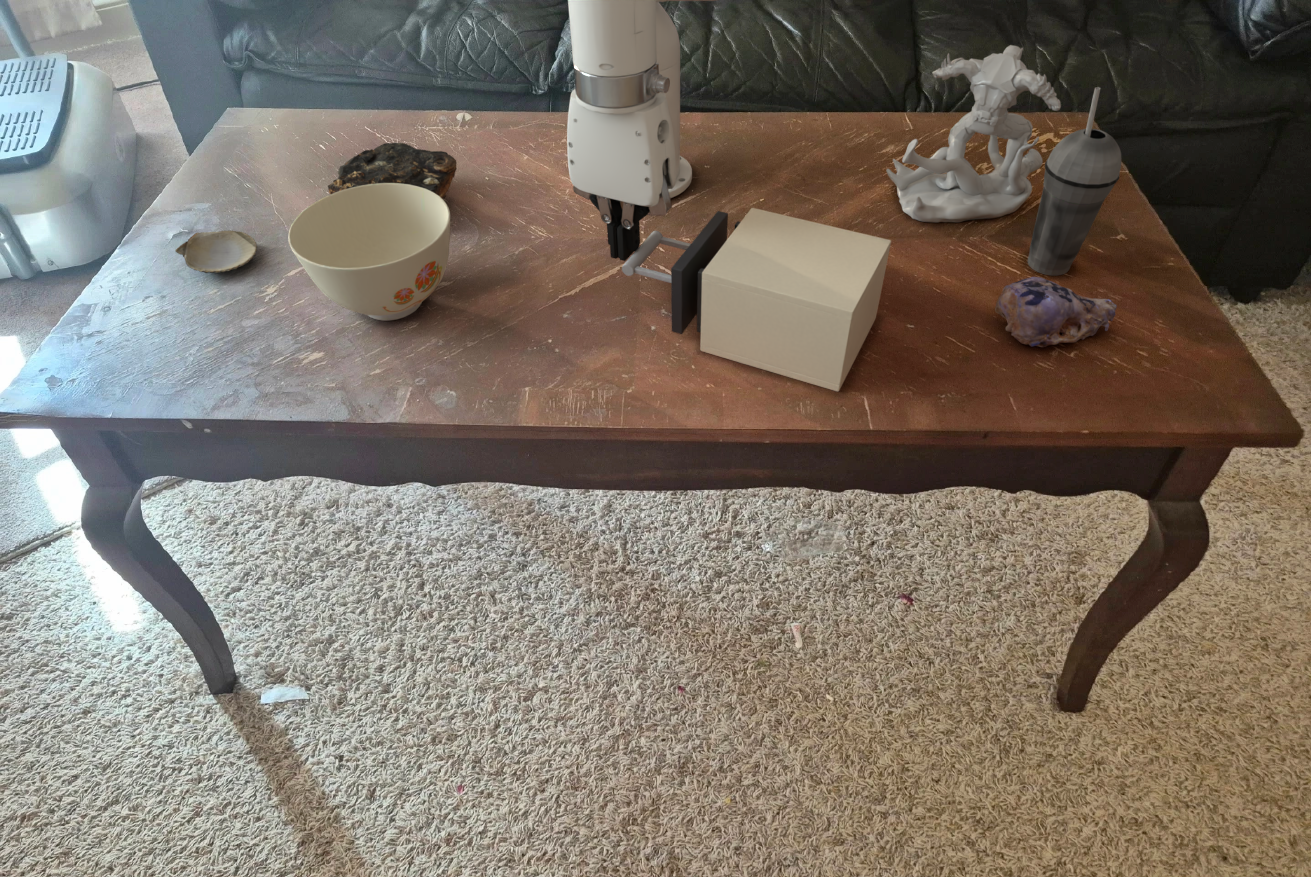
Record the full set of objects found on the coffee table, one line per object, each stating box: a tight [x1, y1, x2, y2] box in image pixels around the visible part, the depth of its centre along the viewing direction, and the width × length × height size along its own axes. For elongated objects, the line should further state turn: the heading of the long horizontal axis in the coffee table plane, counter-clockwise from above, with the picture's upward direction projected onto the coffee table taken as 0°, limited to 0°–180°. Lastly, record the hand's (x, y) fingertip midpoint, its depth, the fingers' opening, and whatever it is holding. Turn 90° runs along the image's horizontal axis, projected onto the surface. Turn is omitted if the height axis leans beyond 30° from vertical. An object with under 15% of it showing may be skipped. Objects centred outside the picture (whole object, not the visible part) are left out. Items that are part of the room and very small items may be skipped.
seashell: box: [175, 230, 258, 274], centre depth 101 cm, size 8×3×8 cm
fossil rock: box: [327, 141, 457, 201], centre depth 108 cm, size 14×14×6 cm
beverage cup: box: [1027, 86, 1122, 276], centre depth 91 cm, size 7×7×20 cm
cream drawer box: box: [699, 207, 892, 393], centre depth 87 cm, size 15×13×10 cm
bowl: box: [287, 183, 451, 322], centre depth 92 cm, size 16×16×10 cm
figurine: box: [885, 44, 1062, 223], centre depth 102 cm, size 18×13×18 cm
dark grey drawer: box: [621, 210, 741, 335], centre depth 90 cm, size 20×11×8 cm, turn 64°
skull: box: [994, 276, 1118, 348], centre depth 88 cm, size 12×8×6 cm, turn 85°
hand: (624, 252), depth 93 cm, fingers closed
